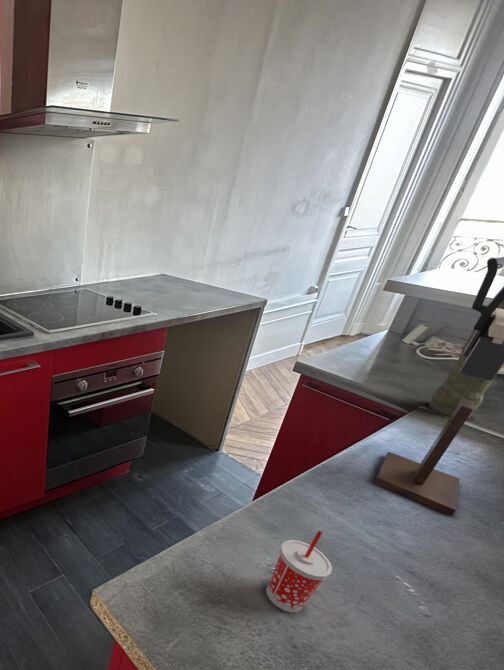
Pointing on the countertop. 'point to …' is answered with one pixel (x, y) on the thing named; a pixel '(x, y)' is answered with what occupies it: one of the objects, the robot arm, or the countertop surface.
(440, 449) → the headphone stand
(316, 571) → the beverage cup
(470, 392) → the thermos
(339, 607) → the countertop surface
